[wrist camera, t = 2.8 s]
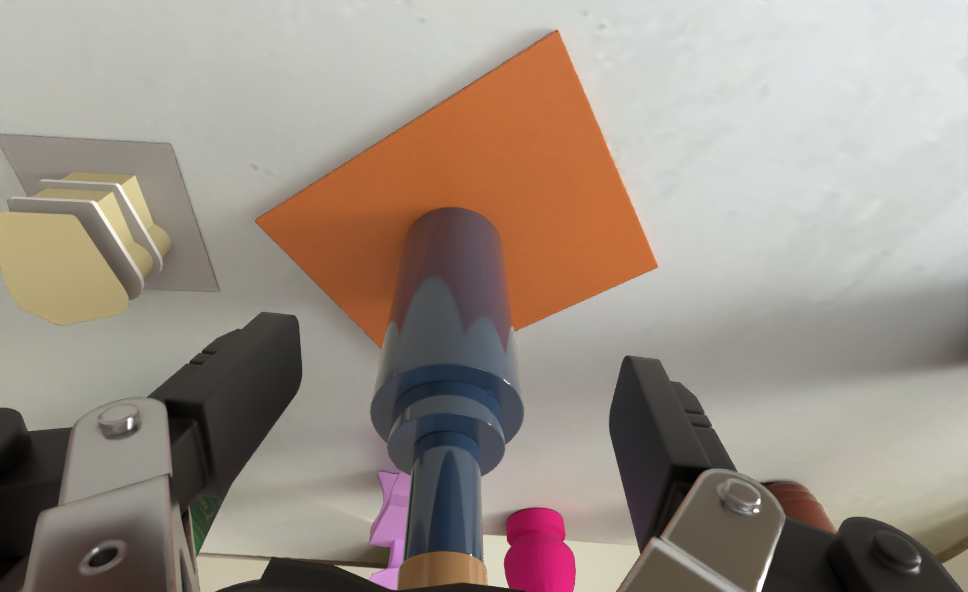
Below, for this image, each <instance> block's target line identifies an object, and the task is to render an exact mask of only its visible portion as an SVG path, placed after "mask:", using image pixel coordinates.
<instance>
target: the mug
mask: <svg viewBox="0 0 968 592" xmlns="http://www.w3.org/2000/svg"><path fill="white" fill-rule="evenodd" d="M764 487H765V488H766V489H767V490H769V491H770V492H771V493H772V494H773V495H774V497H775V498H776V499H777V500H778V502H779V503H780V505H781V507H782V509H783V512H784V515H786V516H788V517H791V518H793V519H796V520H798V521H801V522H804V523H807V524H810V525H812V526H815V527H818V528H821V529H823V530H826V531H829V532H832V533H835V534H836V533H837V531H836V529H835V528H834V526H833V524H832V523H831V521H830V519H829V518H828V516H827V515H826V513H825V511H824V509H823V507H822V505H821V504H820V503H819V502H818V501H817V500H816V498H815V497H814V496H813V495H812V494H811V493H810V492H809V490H808V489H807V488H805V487H803V486H801V485H798V484H794V483H790V482H778V483H771V484H767V485H764Z"/></svg>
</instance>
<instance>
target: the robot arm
mask: <svg viewBox="0 0 968 592" xmlns="http://www.w3.org/2000/svg"><path fill="white" fill-rule="evenodd" d="M301 379H302V359H301V346H300V334H299V323H298V320H297V318H296V316H294V315H287V314H279V313H270V312H261V313H260V314H259V315H257V316H256V317H255V318H254V319H253V320H252V321H251V322H250V323H248V324H247V325H246V326H245V327H244V328H243V329H236V330H234V331H232V332H229V333H227V334H225V335H223V336H221V337H219V338H216V339H215V340H214V341H213V342H212V343H211V344H209V345H208V346H207V347H206V348H205V349H203V350H202V353H199V354H198V355H196V356H195V357H194V358H193V359H192V360H190V363H189V364H186V365H184V366H183V367H182V368H181V369H180V370H179V371H177V372H176V373H175V374H174V375H173V376H171V377H170V378H169V379H168V380H167V381H166V382H164V383H163V384H162V385H161V386H160V387H158V388H157V389H156V390H155V391H154V392H153V393H151V394H150V395H149V396H148V397H147V398H146V397H136V398H127V399H122V400H118V401H114V402H111V403H108V404H105V405H103V406H100V407H98V408H96V409H94V410H92V411H90V412H89V413H87V414H86V415H84V416H83V417H82V418H80V419H79V420H78V421H77V422H76V423H75V424H74V426H73V427H70V428H60V429H49V430H38V431H28V430H27V428H26V425H25V423H24V420H23V418H22V415H21V414H20V413H19V412H18V411H16V410H13V409H10V408H0V592H19V591H20V590H21V589H22V588H23V592H200V586H199V577H198V569H197V562H196V552H195V544H194V535H193V527H192V518H191V513H190V509H189V506H190V505H191V503H192V502H193V501H194V500H195V498H196V497H197V496H198V495H199V496H207V497H214V498H222V497H223V495H224V494H225V492H226V491H227V490H228V488H229V487H230V485H231V484H232V483H233V481H234V480H235V478H236V477H237V476H238V474H239V473H240V472H241V470H242V469H243V467H244V466H245V465H246V463H247V462H248V460H249V459H250V458H251V456H252V455H253V453H254V452H255V451H256V449H257V448H258V447H259V445H260V444H261V442H262V441H263V440H264V438H265V437H266V435H267V434H268V433H269V431H270V430H271V428H272V427H273V426H274V424H275V423H276V421H277V420H278V419H279V417H280V416H281V415H282V413H283V412H284V410H285V409H286V408H287V406H288V405H289V403H290V402H291V401H292V399H293V398H294V396H295V395H296V393H297V391H298V389H299V386H300V383H301ZM704 413H705V412H704V410H703V409H702V407H701V405H700V403H699V401H698V400H697V398H696V396H694V395H693V394H692V393H691V392H690V391H689V390H688V389H687V388H685V387H684V386H683V385H682V384H681V383H680V382H672V381H670V380H669V378H668V376H667V374H666V372H665V370H664V368H663V366H662V364H661V362H660V361H659V360H658V359H653V358H644V357H636V356H625V358H624V359H623V362H622V365H621V369H620V373H619V377H618V381H617V384H616V388H615V392H614V396H613V400H612V404H611V408H610V415H609V430H610V436H611V440H612V444H613V448H614V452H615V456H616V460H617V464H618V468H619V472H620V476H621V480H622V484H623V488H624V492H625V495H626V499H627V503H628V507H629V511H630V515H631V519H632V523H633V527H634V531H635V535H636V539H637V543H638V547H639V551H640V554H641V555H640V556H639V558H638V559H637V561H636V562H635V564H634V565H633V567H632V569H631V570H630V571H629V573H628V574H627V576H626V577H625V579H624V581H623V582H622V583H621V585H620V587H619V588H618V590H617V591H616V592H964V591H963V590H962V589H961V588H960V586H959V585H958V584H957V583H956V582H955V581H954V579H953V578H952V577H951V576H950V574H949V573H948V572H947V570H946V569H945V568H944V567H943V565H942V564H941V563H940V562H939V561H938V560H937V558H936V557H935V556H934V555H933V554H932V553H931V552H930V551H929V550H927V549H926V548H925V547H924V546H923V545H921V544H920V543H919V542H918V541H916V540H915V539H913V538H912V537H910V536H909V535H907V534H906V533H904V532H902V531H901V530H899V529H897V528H895V527H893V526H891V525H888V524H886V523H884V522H881V521H878V520H875V519H871V518H866V517H851V518H848V519H846V520H844V521H843V523H842V524H841V526H840V527H839V529H838V531H837V533H836V534H835V533H832V532H829V531H826V530H823V529H821V528H818V527H815V526H812V525H810V524H807V523H804V522H801V521H798V520H796V519H793V518H791V517H788V516H786V515H784V512H783V509H782V507H781V505H780V503H779V502H778V500H777V499H776V498H775V497H774V495H773V494H772V493H771V492H770V491H769V490H767V489H766V488H765V487H764V486H762V485H761V484H760V483H758V482H757V481H755V480H753V479H752V478H750V477H748V476H746V475H743V474H741V473H738V472H737V470H736V468H735V466H734V464H733V463H732V461H731V459H730V457H729V455H728V454H727V452H726V450H725V448H724V446H723V445H722V443H721V441H720V439H719V437H718V436H717V434H716V432H715V430H714V429H712V425H711V423H710V421H709V419H708V418H707V416H705V415H704ZM23 586H24V587H23ZM216 592H526V591H525V590H518V589H510V588H502V587H495V586H487V585H480V584H472V583H464V582H461V583H453V584H445V585H437V586H429V587H421V588H413V589H405V590H392V589H388V588H386V587H383V586H381V585H379V584H376V583H374V582H372V581H369V580H367V579H364V578H362V577H360V576H357V575H355V574H353V573H351V572H348V571H346V570H343V569H341V568H339V567H337V566H334V565H328V564H320V563H312V562H305V561H297V560H290V559H282V558H275V557H272V558H271V560H270V562H269V564H268V566H267V568H266V569H265V571H264V573H263V575H262V577H261V579H258V580H252V581H247V582H243V583H239V584H235V585H232V586H229V587H226V588H223V589H221V590H218V591H216Z"/></svg>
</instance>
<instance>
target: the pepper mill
mask: <svg viewBox="0 0 968 592" xmlns="http://www.w3.org/2000/svg"><path fill="white" fill-rule="evenodd" d="M506 531H507V541H508V543H509V544H510V545H511V547H510V549H509V550H508V552H507V553H506V556H505V559H504V568H505V575H506V580H507V583H508V586H509V588H510V589H518V590H525V591H526V592H573V590H574V585H575V574H576V568H575V558H574V555H573V552H572V551H571V549H570V548H569V547H568V546H567V545H566V544H565V543H564V542H563V541H564V539H565V536H566V534H565V528H564V522H563V518H562V517H561V515H559V514H558V513H557V512H555V511H553V510H549V509H545V508H531V509H526V510H522V511H519V512H517V513H515V514H514V515H512V516H511V517H510V518H509V519H508V521H507V523H506Z"/></svg>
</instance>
